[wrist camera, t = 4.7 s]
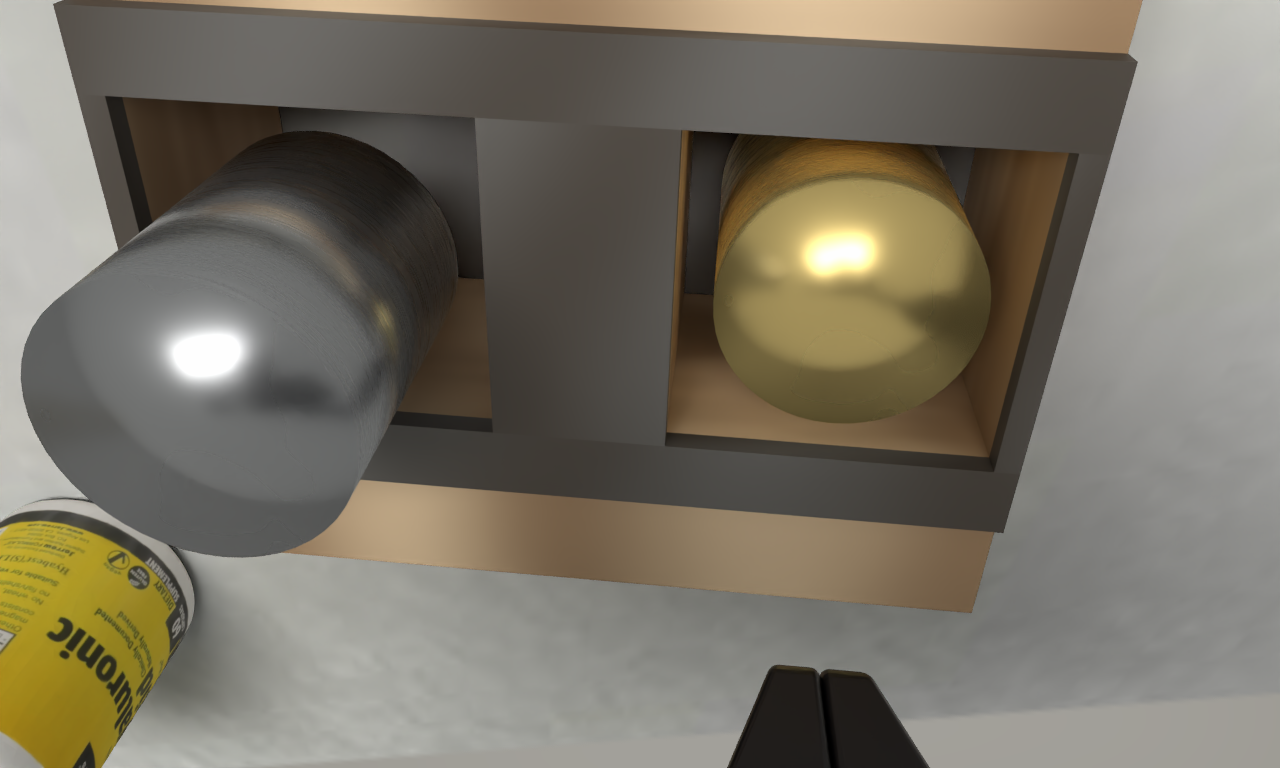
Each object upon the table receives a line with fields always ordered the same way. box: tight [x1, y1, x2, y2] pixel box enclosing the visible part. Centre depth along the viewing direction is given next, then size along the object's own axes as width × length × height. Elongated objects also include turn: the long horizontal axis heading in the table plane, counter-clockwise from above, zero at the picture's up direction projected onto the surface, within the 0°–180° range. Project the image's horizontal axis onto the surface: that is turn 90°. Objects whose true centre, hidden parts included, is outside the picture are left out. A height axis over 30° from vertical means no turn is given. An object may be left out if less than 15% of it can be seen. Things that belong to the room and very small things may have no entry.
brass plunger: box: [713, 133, 991, 424], centre depth 17 cm, size 4×4×5 cm
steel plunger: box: [21, 131, 458, 558], centre depth 14 cm, size 4×4×5 cm
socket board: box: [53, 0, 1143, 613], centre depth 17 cm, size 14×12×5 cm
